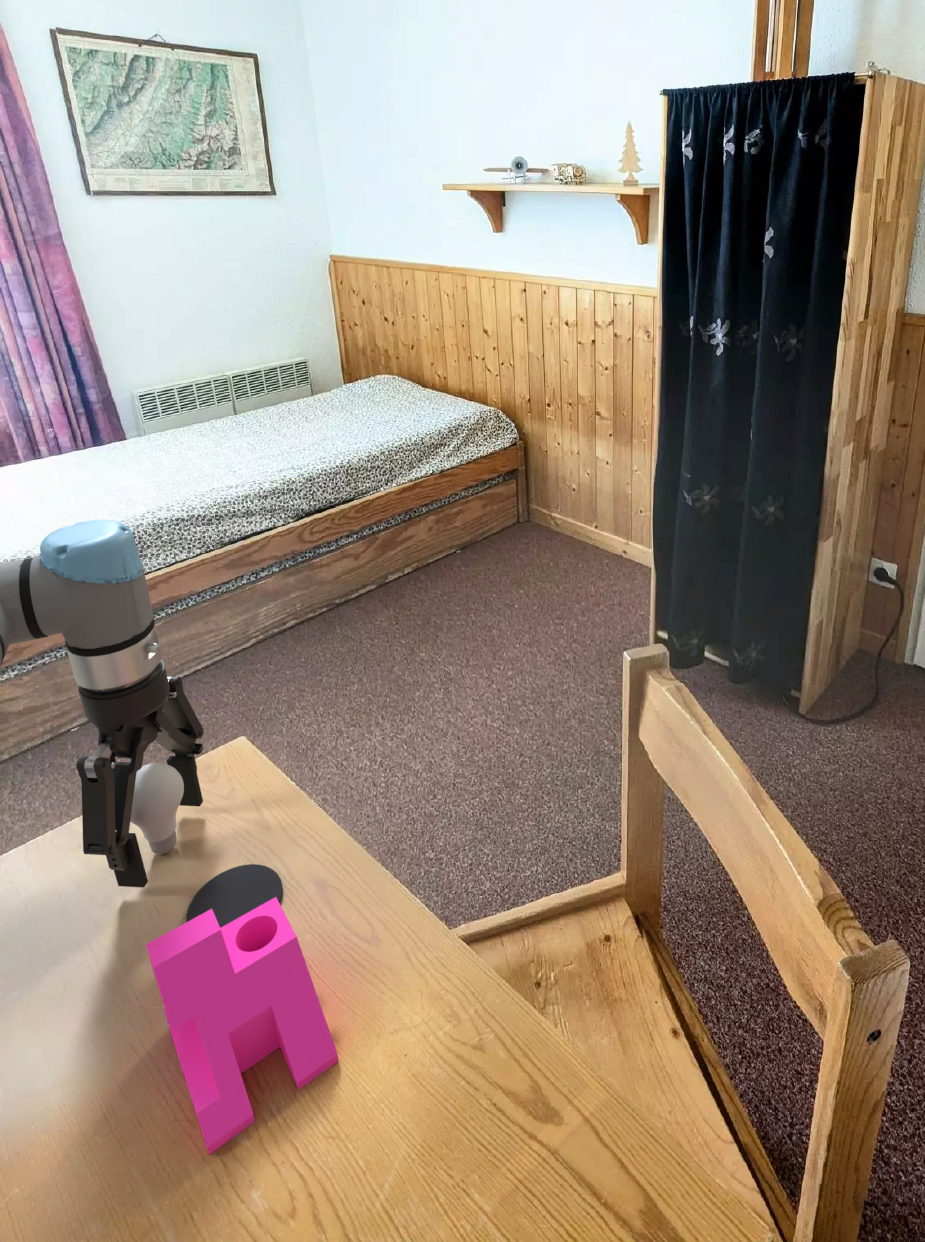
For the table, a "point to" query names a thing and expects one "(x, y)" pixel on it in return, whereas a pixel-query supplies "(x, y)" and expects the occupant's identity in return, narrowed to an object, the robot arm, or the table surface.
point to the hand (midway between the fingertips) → (163, 841)
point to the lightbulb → (157, 804)
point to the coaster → (236, 893)
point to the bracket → (238, 1010)
